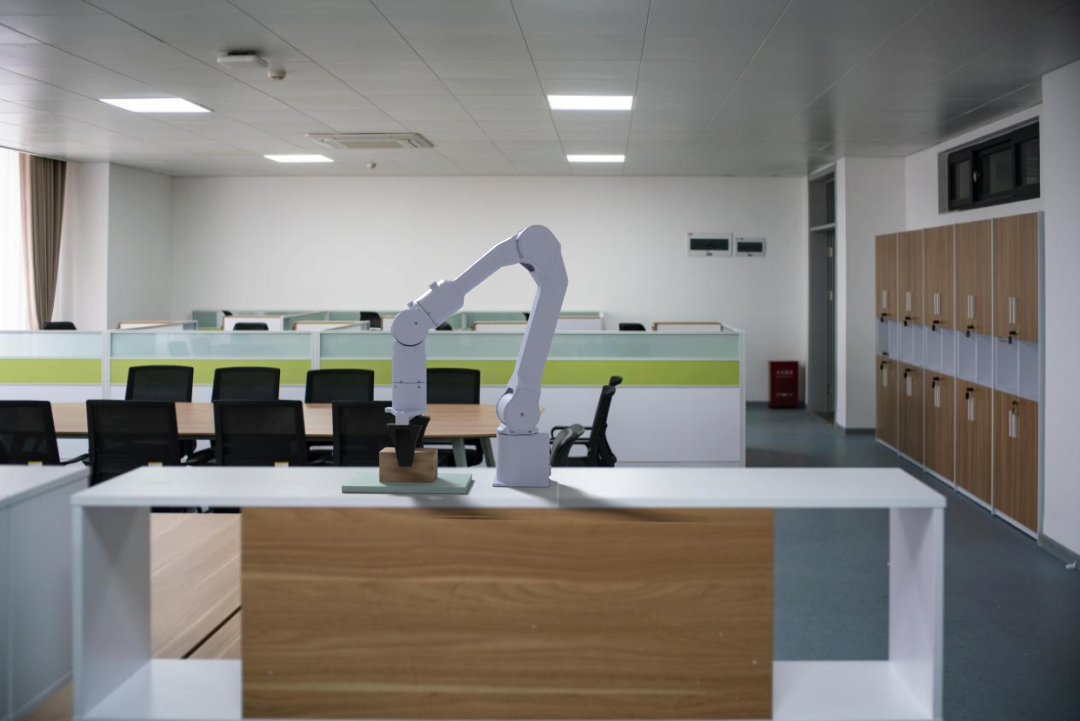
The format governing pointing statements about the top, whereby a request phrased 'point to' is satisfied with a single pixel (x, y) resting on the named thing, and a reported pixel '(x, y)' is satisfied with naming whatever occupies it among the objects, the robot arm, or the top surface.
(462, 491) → the pin board
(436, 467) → the box
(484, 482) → the top surface
